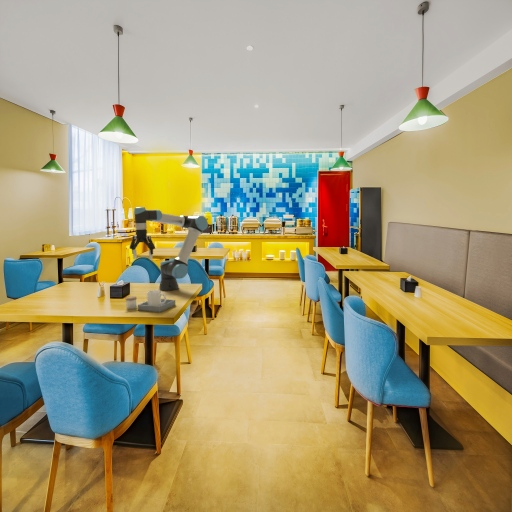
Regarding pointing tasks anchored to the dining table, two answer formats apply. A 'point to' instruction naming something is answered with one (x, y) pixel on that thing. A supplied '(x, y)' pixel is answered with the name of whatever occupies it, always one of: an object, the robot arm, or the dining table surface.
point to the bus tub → (161, 308)
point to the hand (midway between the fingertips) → (143, 258)
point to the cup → (155, 298)
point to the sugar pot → (131, 302)
